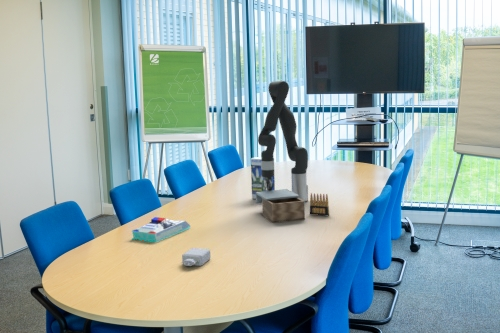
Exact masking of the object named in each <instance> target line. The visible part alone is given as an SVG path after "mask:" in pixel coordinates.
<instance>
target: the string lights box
mask: <svg viewBox="0 0 500 333" xmlns="http://www.w3.org/2000/svg"><path fill="white" fill-rule="evenodd" d="M273 159H274V160H273V161H274V162H275V157H273ZM250 171H251V199H252V200H253V199H254V200H256V192H261V191H266V190H265V188H264V184H263V181H264V177H262V175H261V156H258V157H257V156H255V157H251V158H250ZM271 178H272V183H273V184H274V185H273V189H272V190H276V188H275V184H276V183H275V182H276V181H275V180H276V179H275V176H274V177H271Z"/></svg>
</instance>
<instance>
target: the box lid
mask: <svg viewBox="0 0 500 333" xmlns="http://www.w3.org/2000/svg"><path fill="white" fill-rule="evenodd" d="M296 197H299V195H297V194H296V193H294V192H292V190H290V189H287V188H284V189H275V190H272V191H261V192H256V199H255V203H256V204H258V203H262V198H263V199H265V200H276V199H286V198H296Z"/></svg>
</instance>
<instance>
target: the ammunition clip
mask: <svg viewBox="0 0 500 333" xmlns="http://www.w3.org/2000/svg"><path fill="white" fill-rule="evenodd" d="M309 199H310V200H309V215H310V214H318V215H317V216H323V215H328V216H329V215H330V208H329V196H328V193H326V195H325V193H323V195H322V193H320V194H319V193H314V194H313V192H311V193H310V198H309Z"/></svg>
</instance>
